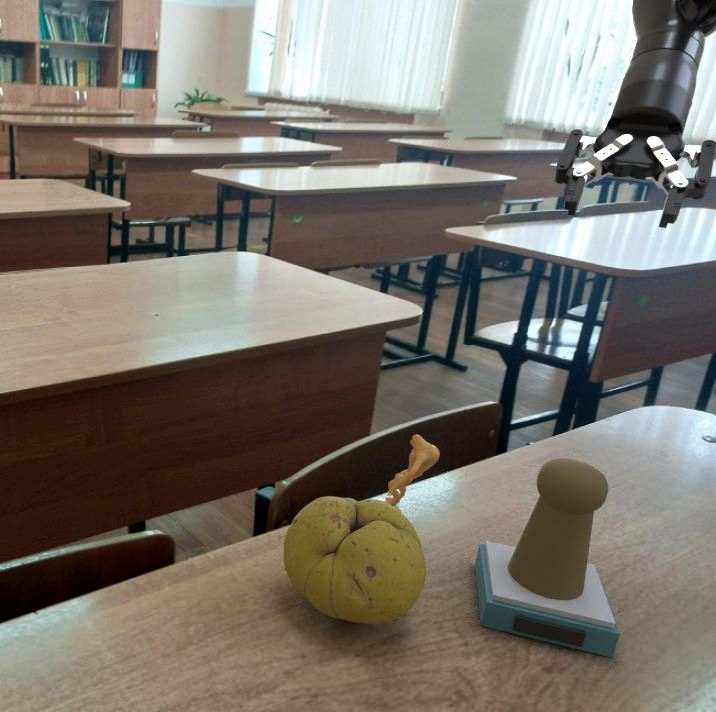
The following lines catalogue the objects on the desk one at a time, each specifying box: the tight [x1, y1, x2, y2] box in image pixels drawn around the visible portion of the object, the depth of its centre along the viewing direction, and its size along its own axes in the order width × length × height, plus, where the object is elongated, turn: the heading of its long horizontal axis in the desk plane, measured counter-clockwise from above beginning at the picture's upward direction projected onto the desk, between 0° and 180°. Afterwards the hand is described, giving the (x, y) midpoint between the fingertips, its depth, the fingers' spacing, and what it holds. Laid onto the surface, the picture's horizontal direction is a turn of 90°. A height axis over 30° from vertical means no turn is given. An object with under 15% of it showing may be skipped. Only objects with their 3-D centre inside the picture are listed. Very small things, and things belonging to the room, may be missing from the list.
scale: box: [474, 540, 621, 659], centre depth 64 cm, size 10×9×3 cm
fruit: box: [283, 495, 427, 625], centre depth 62 cm, size 11×12×10 cm
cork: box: [508, 457, 609, 600], centre depth 62 cm, size 6×6×11 cm
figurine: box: [376, 434, 441, 514], centre depth 71 cm, size 8×6×12 cm
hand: (616, 216), depth 77 cm, fingers open, 8 cm apart
